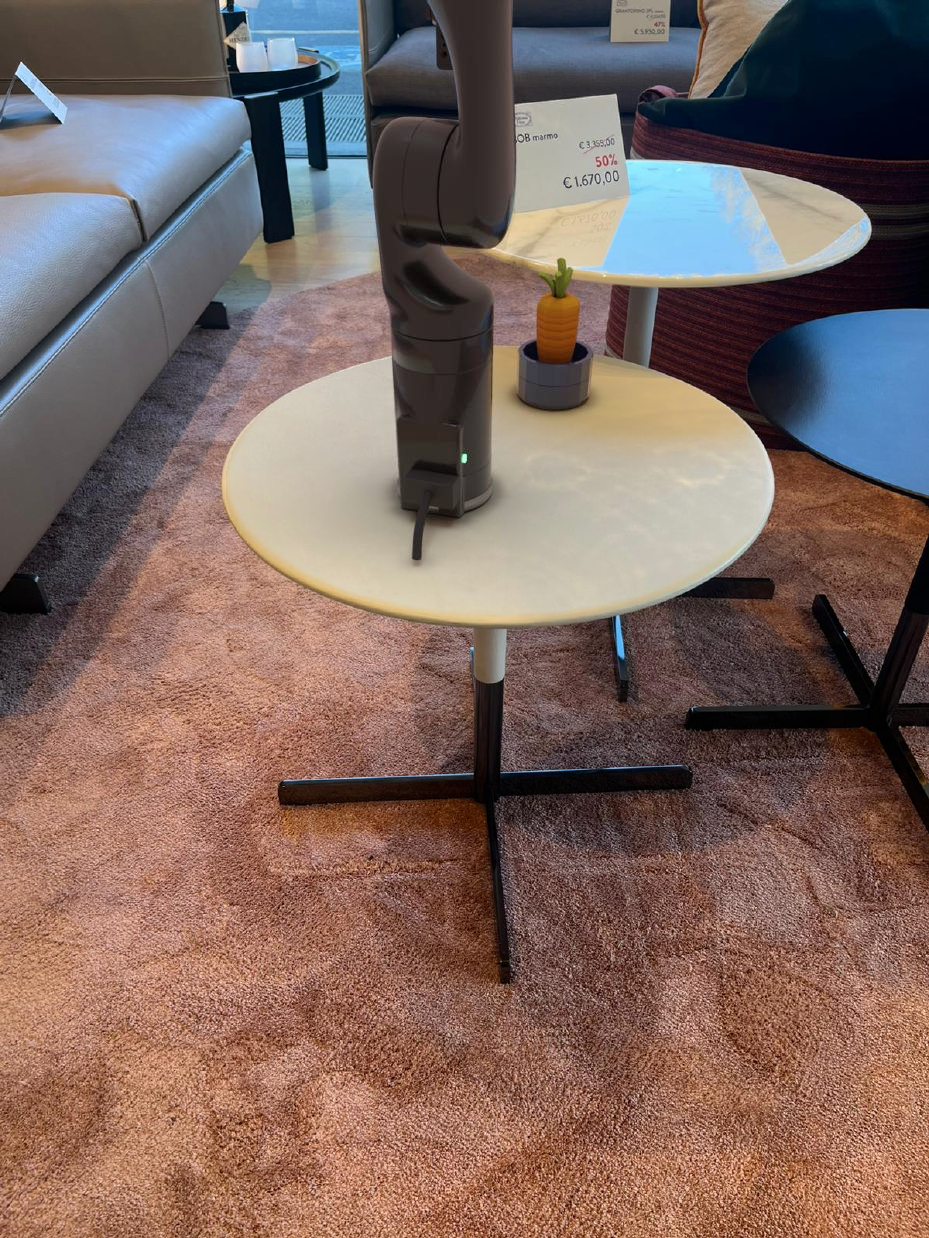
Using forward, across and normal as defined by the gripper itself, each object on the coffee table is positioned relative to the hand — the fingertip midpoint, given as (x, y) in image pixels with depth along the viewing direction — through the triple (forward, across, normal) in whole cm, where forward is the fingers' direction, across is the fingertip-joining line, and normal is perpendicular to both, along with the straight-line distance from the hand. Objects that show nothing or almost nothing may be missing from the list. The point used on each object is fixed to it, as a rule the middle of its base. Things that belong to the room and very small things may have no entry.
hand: (461, 63), depth 96 cm
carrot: (+33, +5, +13) cm, 36 cm away
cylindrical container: (+33, +5, +13) cm, 36 cm away
